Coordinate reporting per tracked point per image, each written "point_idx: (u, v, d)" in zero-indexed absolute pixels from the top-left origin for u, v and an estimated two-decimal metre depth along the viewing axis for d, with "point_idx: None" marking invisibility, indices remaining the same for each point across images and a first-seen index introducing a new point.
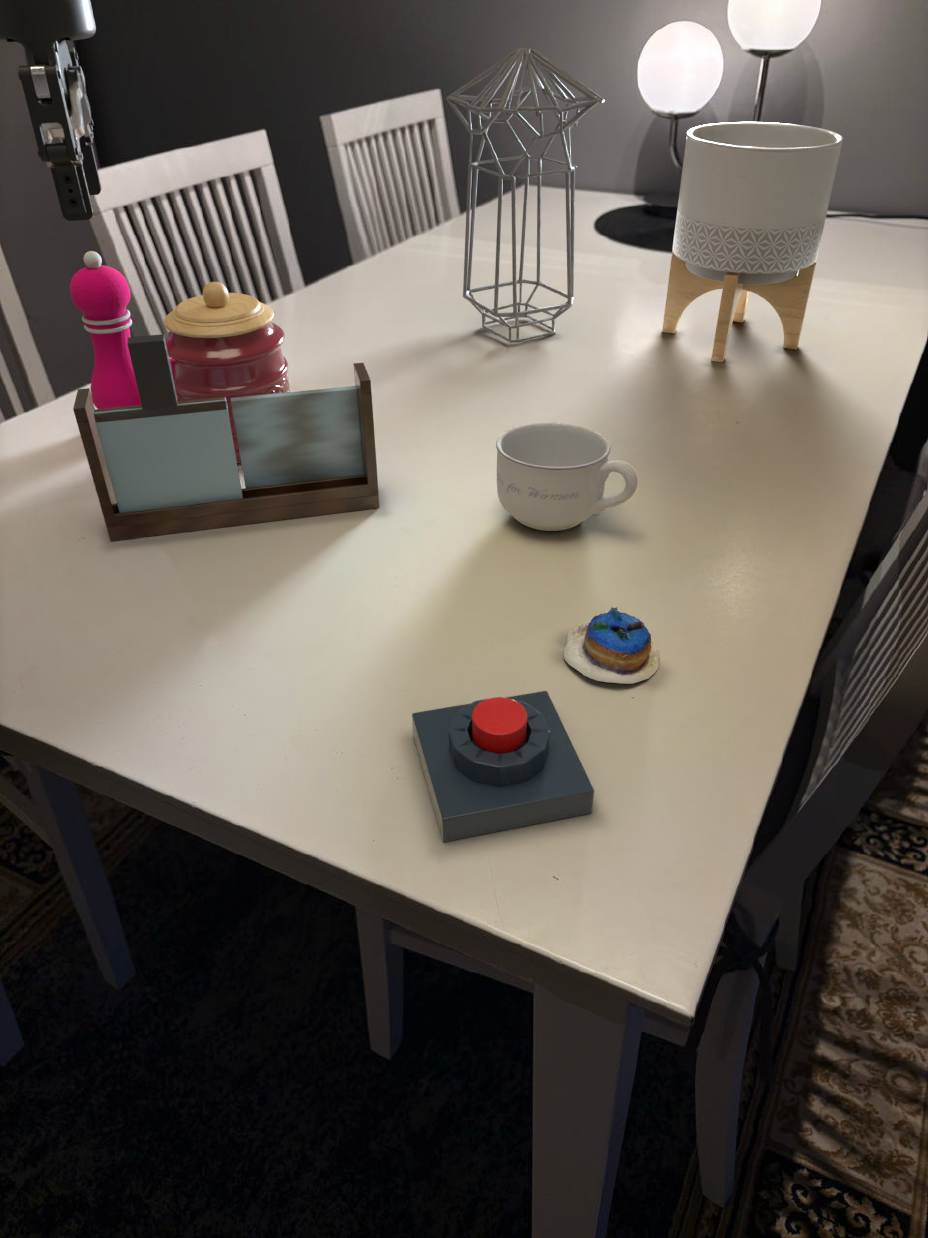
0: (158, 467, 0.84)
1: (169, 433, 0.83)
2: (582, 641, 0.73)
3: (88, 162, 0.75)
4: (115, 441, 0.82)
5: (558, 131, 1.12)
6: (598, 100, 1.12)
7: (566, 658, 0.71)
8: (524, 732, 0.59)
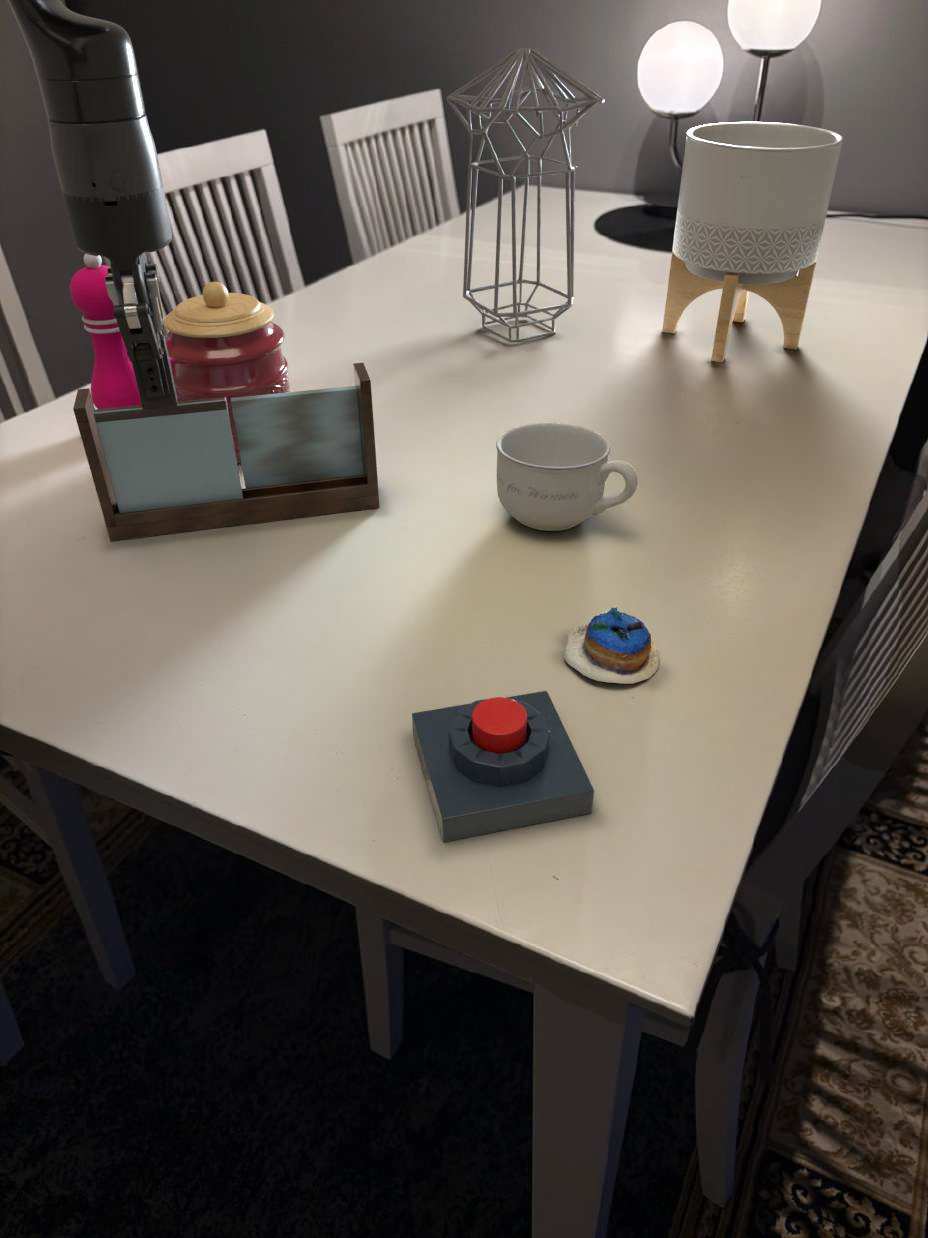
0: (158, 467, 0.84)
1: (169, 433, 0.83)
2: (582, 641, 0.73)
3: None
4: (115, 441, 0.82)
5: (558, 131, 1.12)
6: (598, 100, 1.12)
7: (566, 658, 0.71)
8: (524, 732, 0.59)
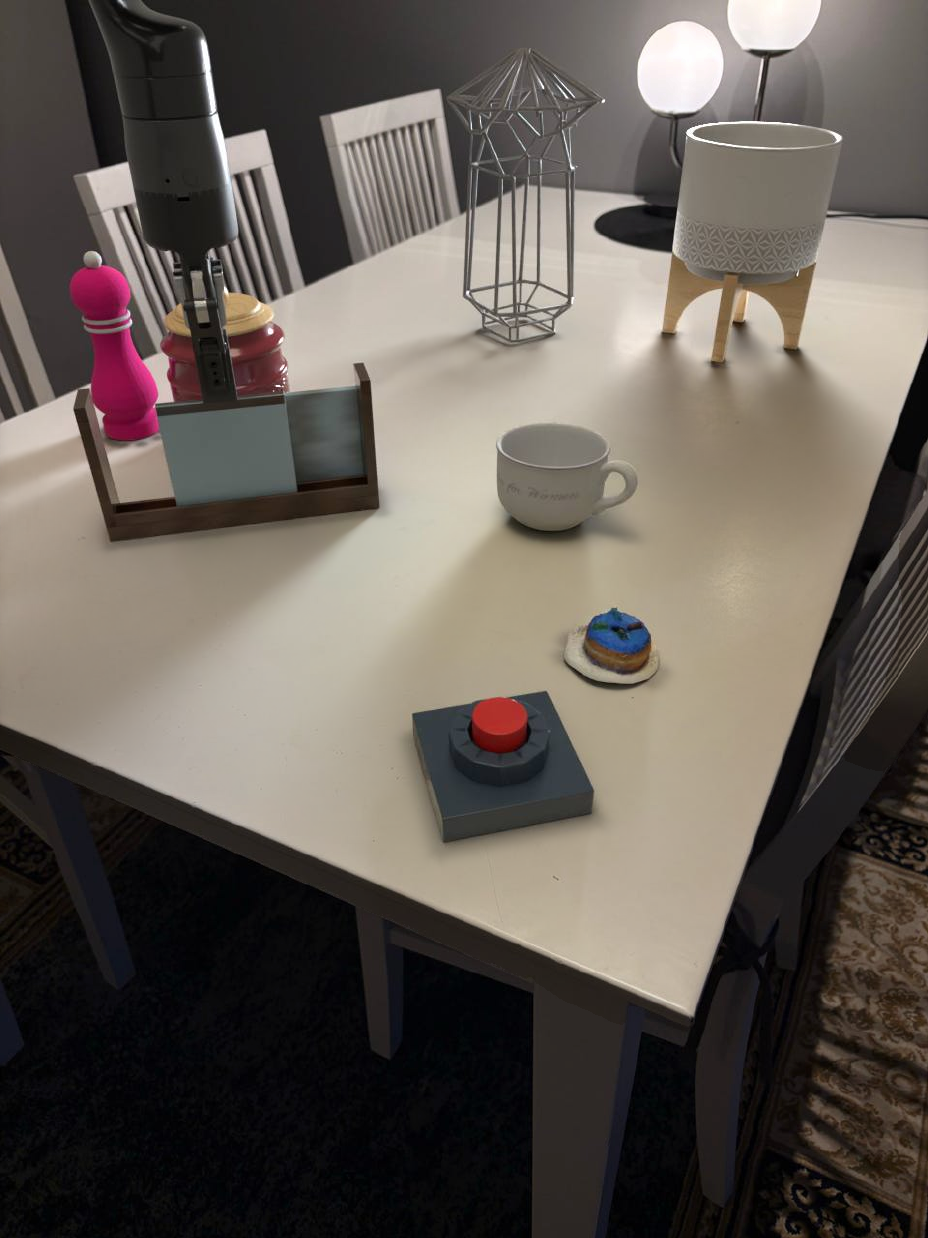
0: (216, 461, 0.85)
1: (228, 427, 0.84)
2: (582, 641, 0.73)
3: None
4: (175, 435, 0.83)
5: (558, 131, 1.12)
6: (598, 100, 1.12)
7: (566, 658, 0.71)
8: (524, 732, 0.59)
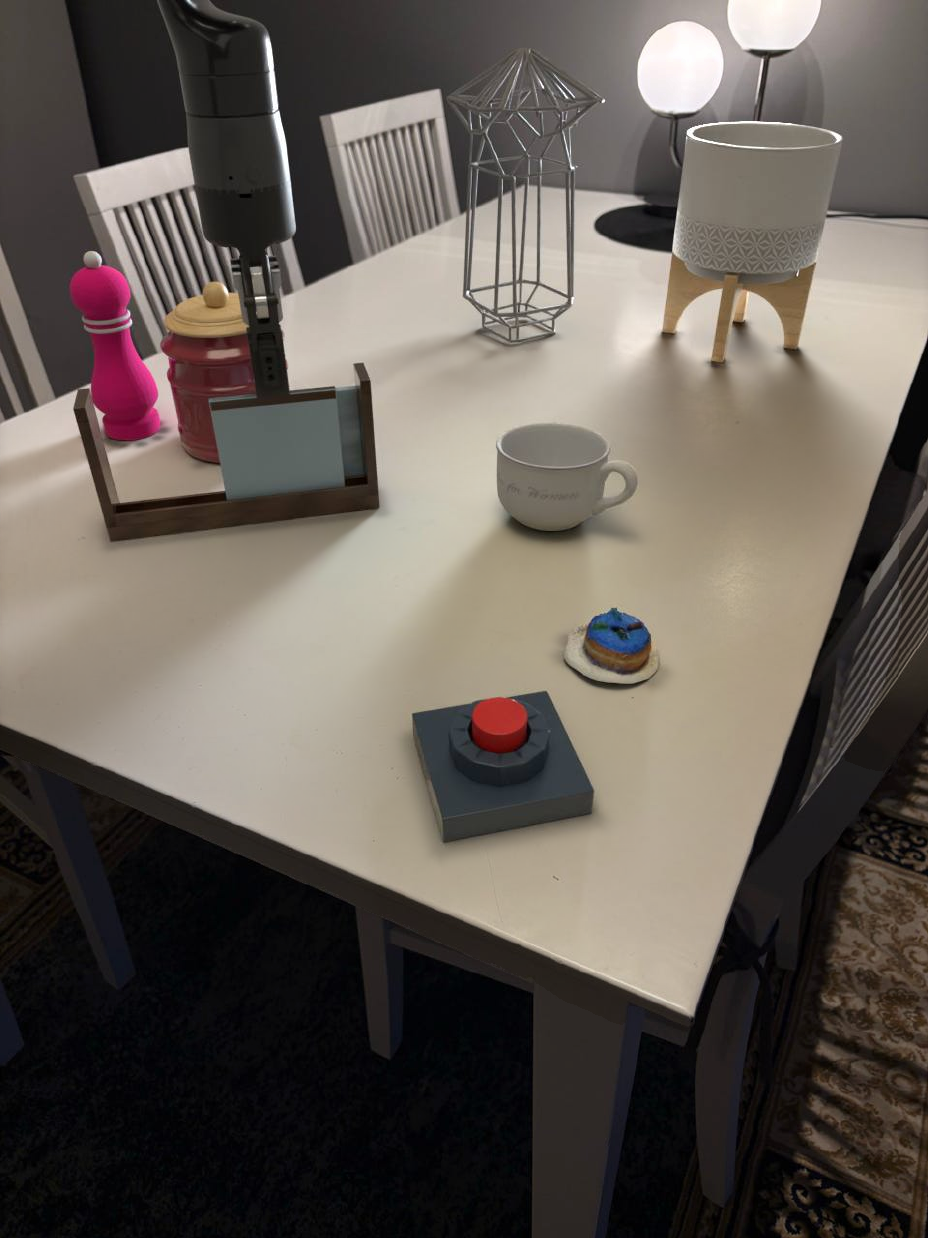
0: (267, 455, 0.86)
1: (280, 421, 0.85)
2: (582, 641, 0.73)
3: None
4: (228, 429, 0.84)
5: (558, 131, 1.12)
6: (598, 100, 1.12)
7: (566, 658, 0.71)
8: (524, 732, 0.59)
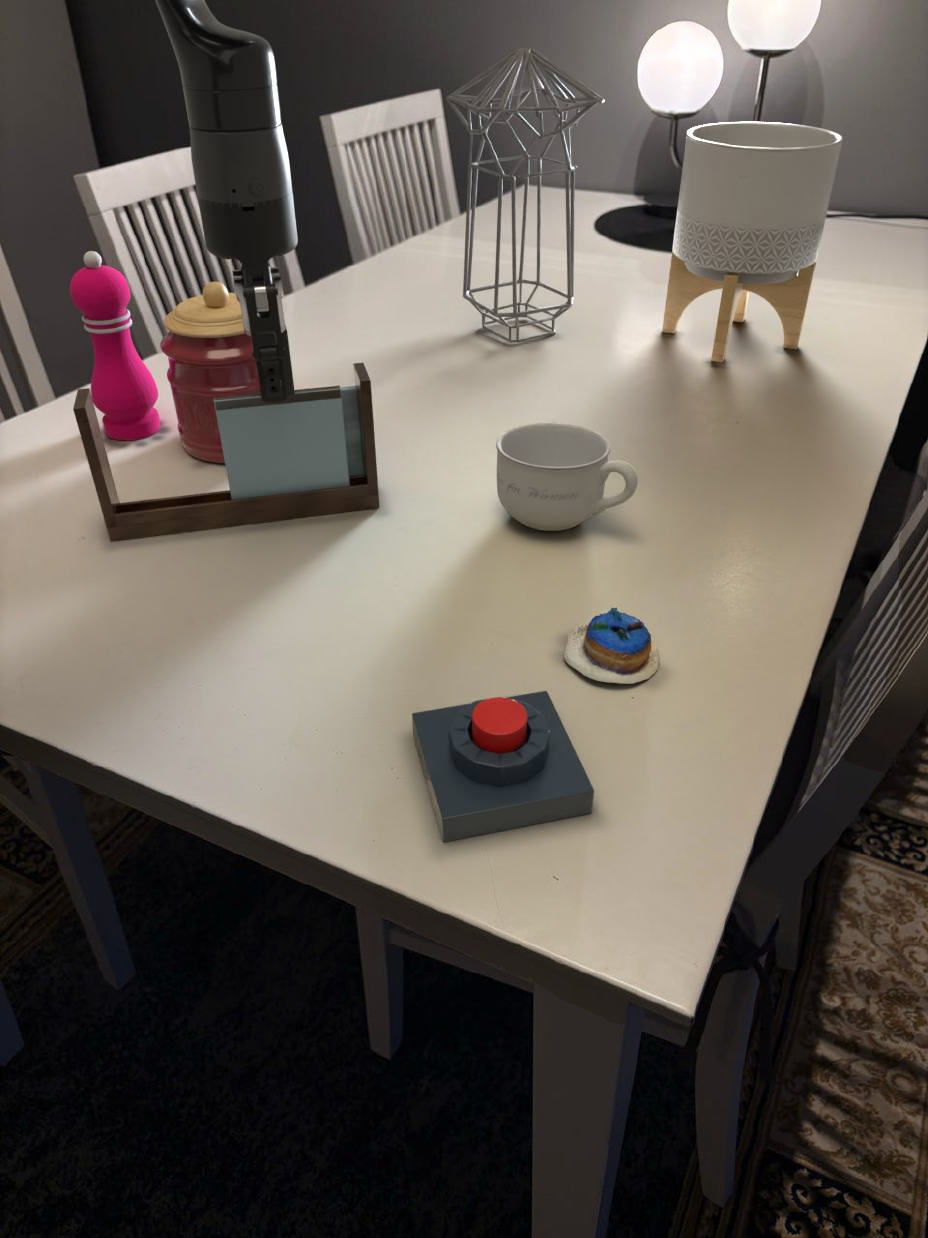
0: (272, 454, 0.86)
1: (285, 421, 0.85)
2: (582, 641, 0.73)
3: None
4: (233, 429, 0.84)
5: (558, 131, 1.12)
6: (598, 100, 1.12)
7: (566, 658, 0.71)
8: (524, 732, 0.59)
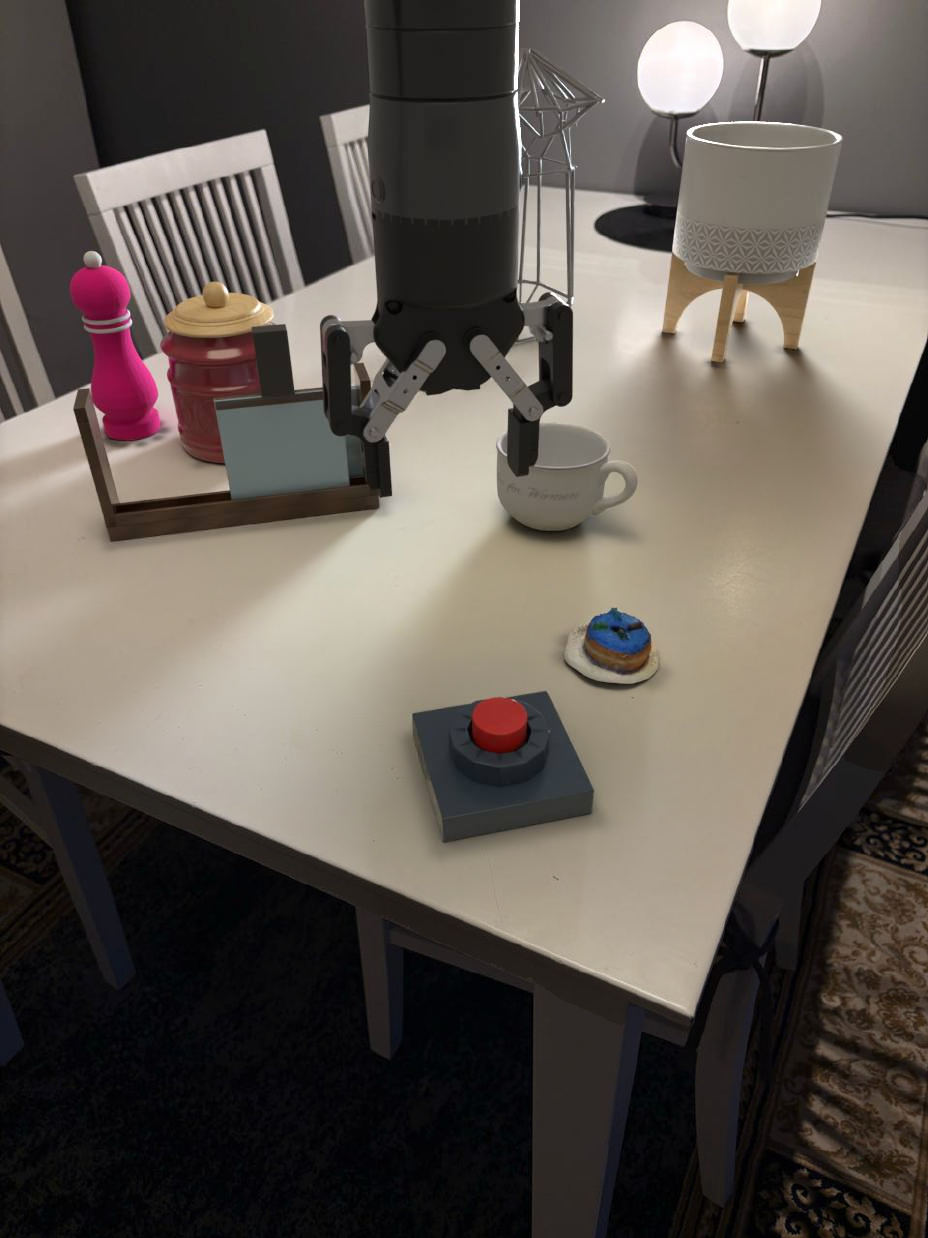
0: (272, 454, 0.86)
1: (285, 421, 0.85)
2: (582, 641, 0.73)
3: (516, 439, 0.54)
4: (233, 429, 0.84)
5: (558, 131, 1.12)
6: (598, 100, 1.12)
7: (566, 658, 0.71)
8: (524, 732, 0.59)
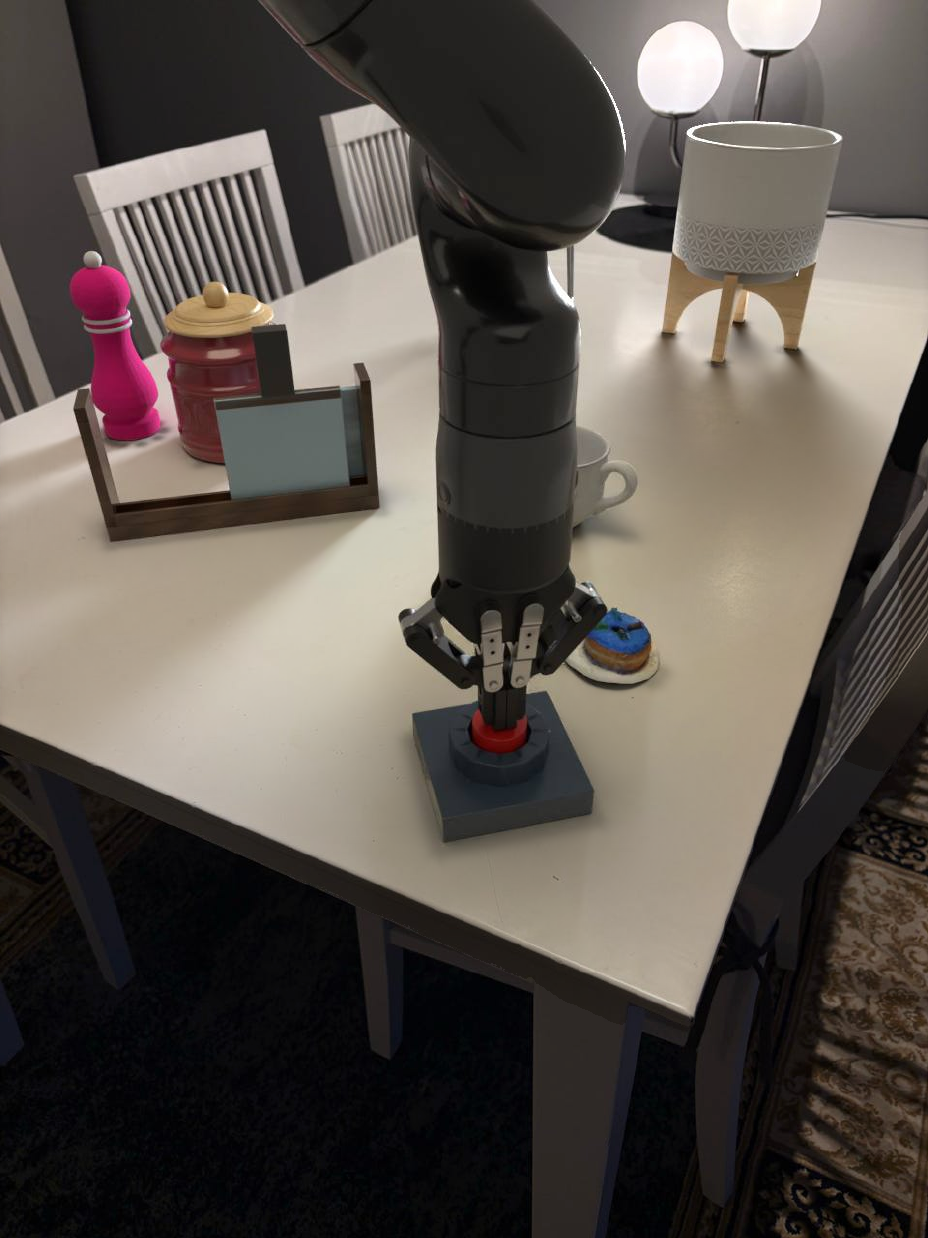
0: (272, 454, 0.86)
1: (285, 421, 0.85)
2: (582, 641, 0.73)
3: None
4: (233, 429, 0.84)
5: None
6: None
7: None
8: (524, 738, 0.59)
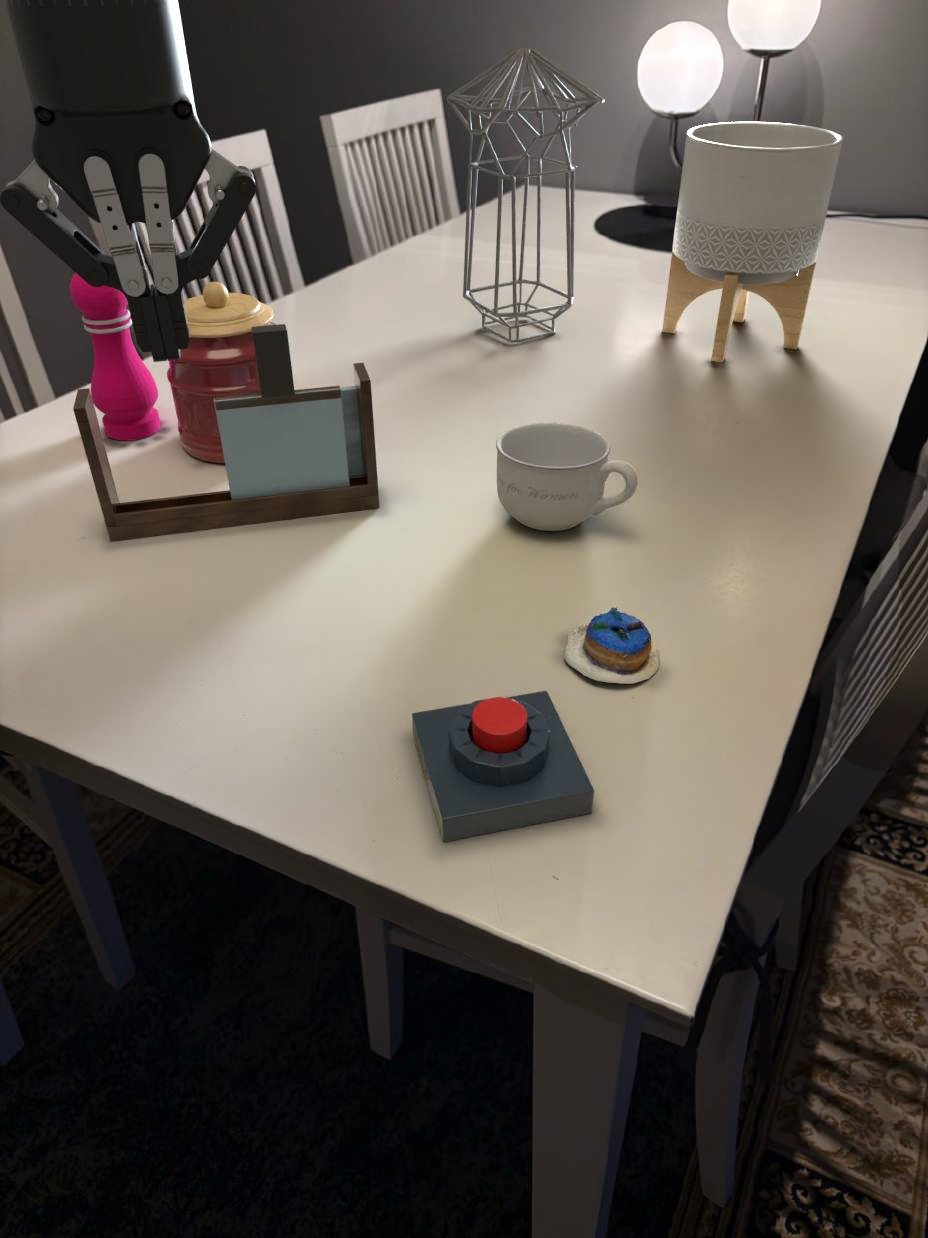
0: (272, 454, 0.86)
1: (285, 421, 0.85)
2: (582, 641, 0.73)
3: None
4: (233, 429, 0.84)
5: (558, 131, 1.12)
6: (598, 100, 1.12)
7: (566, 658, 0.71)
8: (524, 732, 0.59)
